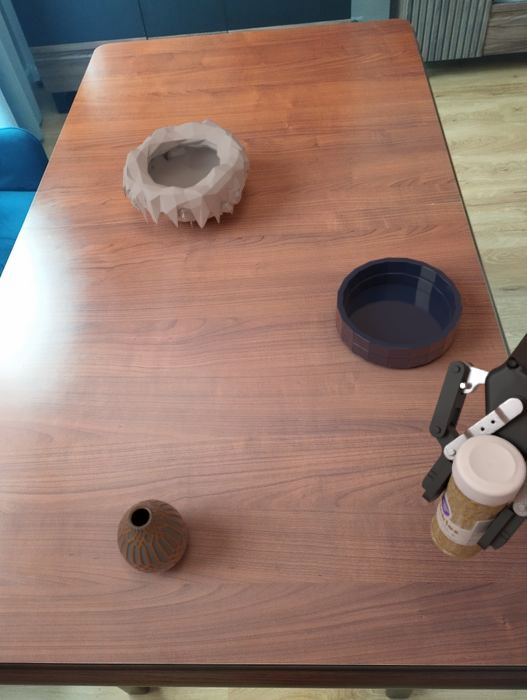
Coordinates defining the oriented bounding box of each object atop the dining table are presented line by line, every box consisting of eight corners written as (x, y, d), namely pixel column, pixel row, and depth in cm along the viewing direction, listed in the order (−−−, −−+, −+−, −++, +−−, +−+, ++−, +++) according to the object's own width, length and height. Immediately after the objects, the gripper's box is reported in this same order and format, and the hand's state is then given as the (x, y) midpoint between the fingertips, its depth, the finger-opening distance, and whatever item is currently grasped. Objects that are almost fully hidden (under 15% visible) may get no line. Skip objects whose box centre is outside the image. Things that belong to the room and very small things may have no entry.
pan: (475, 355, 74) (482, 333, 70) (356, 381, 73) (357, 360, 69) (429, 271, 83) (434, 247, 80) (323, 293, 82) (323, 270, 79)
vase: (139, 593, 60) (114, 566, 53) (120, 532, 64) (96, 500, 57) (201, 563, 61) (186, 533, 54) (180, 506, 65) (163, 471, 58)
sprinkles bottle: (419, 519, 51) (443, 444, 40) (467, 501, 51) (502, 423, 41) (446, 569, 48) (479, 504, 37) (496, 550, 48) (542, 480, 38)
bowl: (279, 184, 98) (275, 130, 90) (212, 262, 88) (201, 209, 80) (179, 155, 106) (168, 103, 98) (108, 223, 96) (88, 171, 88)
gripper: (494, 267, 39) (361, 464, 44) (720, 396, 32) (529, 613, 37) (521, 281, 45) (401, 453, 50) (715, 392, 38) (551, 579, 43)
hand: (456, 520), depth 44 cm, fingers closed on sprinkles bottle, 4 cm apart
